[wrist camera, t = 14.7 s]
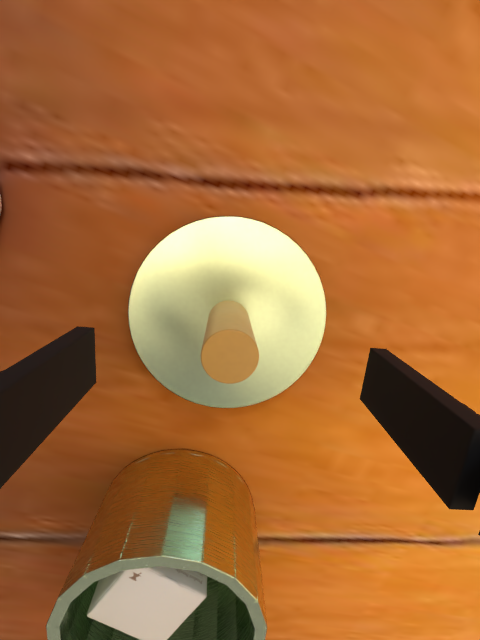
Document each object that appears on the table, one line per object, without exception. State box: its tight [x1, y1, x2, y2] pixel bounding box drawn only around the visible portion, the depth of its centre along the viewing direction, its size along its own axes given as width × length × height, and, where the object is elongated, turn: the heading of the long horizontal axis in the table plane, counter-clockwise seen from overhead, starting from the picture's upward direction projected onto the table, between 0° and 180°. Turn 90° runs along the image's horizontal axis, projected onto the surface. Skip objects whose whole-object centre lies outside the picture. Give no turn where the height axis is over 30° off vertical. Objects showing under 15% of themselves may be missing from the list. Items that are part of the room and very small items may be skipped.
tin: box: [46, 449, 267, 640], centre depth 24 cm, size 14×14×10 cm
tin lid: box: [128, 216, 326, 408], centre depth 20 cm, size 15×15×9 cm
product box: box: [87, 566, 207, 640], centre depth 25 cm, size 6×6×7 cm
